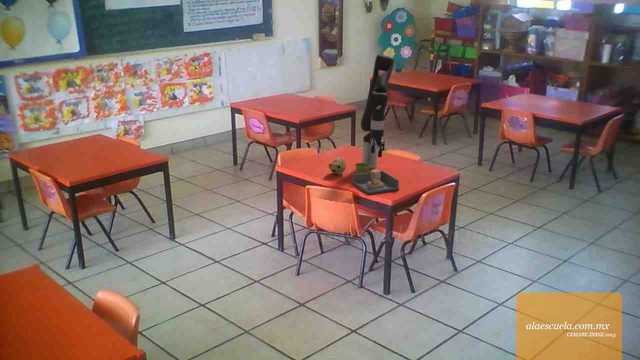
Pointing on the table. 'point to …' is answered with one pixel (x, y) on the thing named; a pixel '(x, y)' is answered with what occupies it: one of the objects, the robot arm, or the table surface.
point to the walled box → (365, 185)
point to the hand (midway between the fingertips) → (376, 155)
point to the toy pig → (337, 166)
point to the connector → (375, 177)
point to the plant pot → (362, 167)
